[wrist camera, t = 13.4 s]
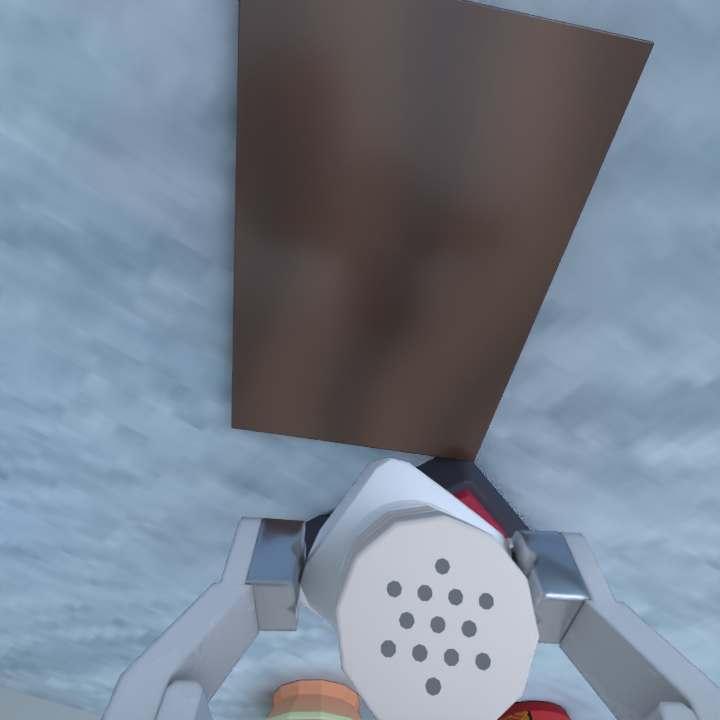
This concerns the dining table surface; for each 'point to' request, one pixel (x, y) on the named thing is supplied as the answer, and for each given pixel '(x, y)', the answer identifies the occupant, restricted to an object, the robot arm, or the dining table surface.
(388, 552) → the pepper shaker
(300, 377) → the board
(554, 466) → the dining table surface
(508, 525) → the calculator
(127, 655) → the dining table surface
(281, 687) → the potted cactus
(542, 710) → the canned food
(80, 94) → the dining table surface
